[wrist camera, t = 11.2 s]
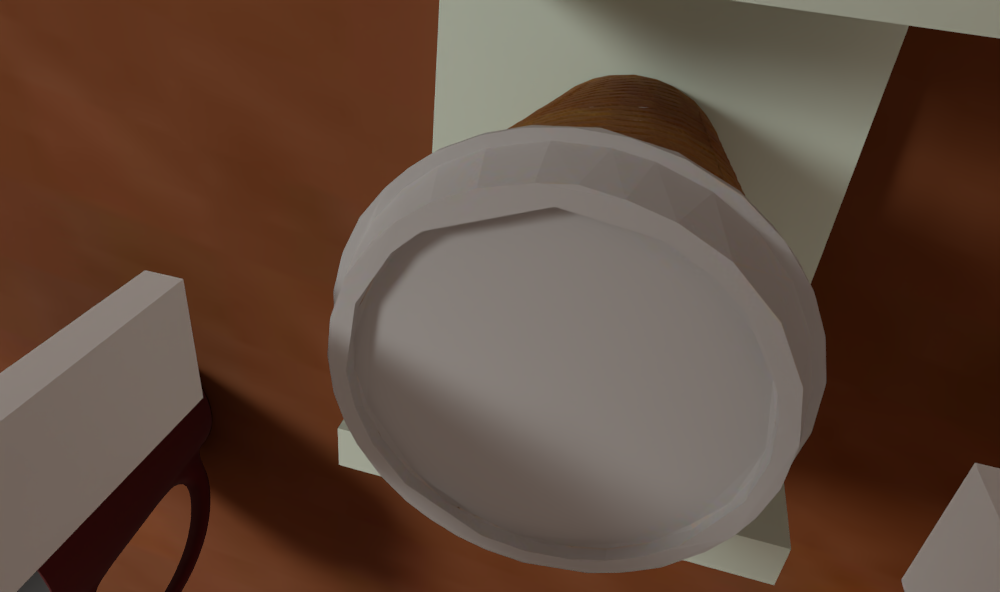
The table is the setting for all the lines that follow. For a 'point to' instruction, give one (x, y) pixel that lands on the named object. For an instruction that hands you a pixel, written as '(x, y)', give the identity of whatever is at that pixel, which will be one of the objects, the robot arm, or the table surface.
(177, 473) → the mug
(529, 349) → the disposable coffee cup
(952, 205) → the table surface
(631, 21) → the holder
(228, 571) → the table surface
